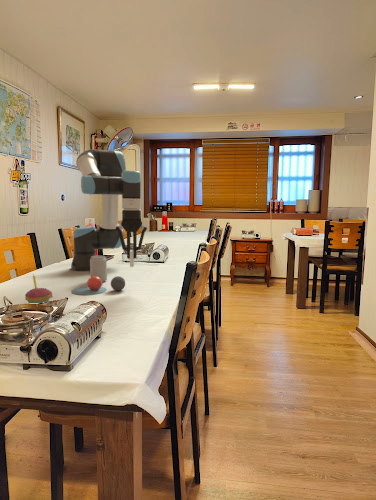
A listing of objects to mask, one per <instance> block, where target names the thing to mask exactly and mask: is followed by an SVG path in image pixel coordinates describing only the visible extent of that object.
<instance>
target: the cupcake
mask: <svg viewBox="0 0 376 500" xmlns="http://www.w3.org/2000/svg"><path fill="white" fill-rule="evenodd" d="M32 280H33V285H34V287H33V288H32V289H30V290H28V291H26V293H25V294H24V296H25V298H24V299H25V301H26V302H27V303H28V304H29V303H43V302H48V303H49V301H50V299H51V298H53V292H52V291H51V290H49V289H48V288H45V287H38V286H37V281H36V276H35V275H34V273H32Z"/></svg>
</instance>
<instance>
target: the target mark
mask: <svg viewBox="0 0 376 500" xmlns="http://www.w3.org/2000/svg"><path fill="white" fill-rule="evenodd" d="M106 291H107V288H106V287H104V286H101V288H100V289H98V290H95V291H94V290H91V289H89V287H88V285H87V286H79V287H76V288H73V289H72V290H71V293H72V294H73V295H78V296H92V295H93V296H94V295H100V294H103V293H104V292H106Z"/></svg>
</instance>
